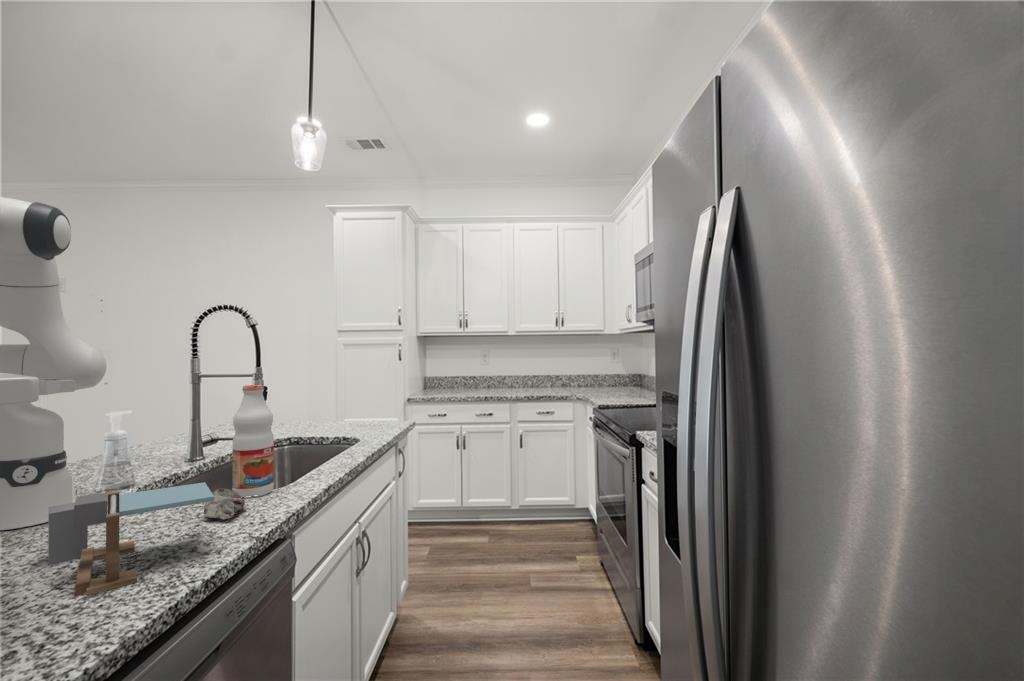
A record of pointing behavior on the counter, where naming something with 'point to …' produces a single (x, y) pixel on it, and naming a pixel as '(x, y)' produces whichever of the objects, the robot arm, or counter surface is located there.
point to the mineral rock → (224, 504)
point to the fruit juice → (253, 445)
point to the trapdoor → (138, 502)
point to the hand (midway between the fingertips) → (67, 384)
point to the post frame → (112, 559)
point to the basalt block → (64, 535)
